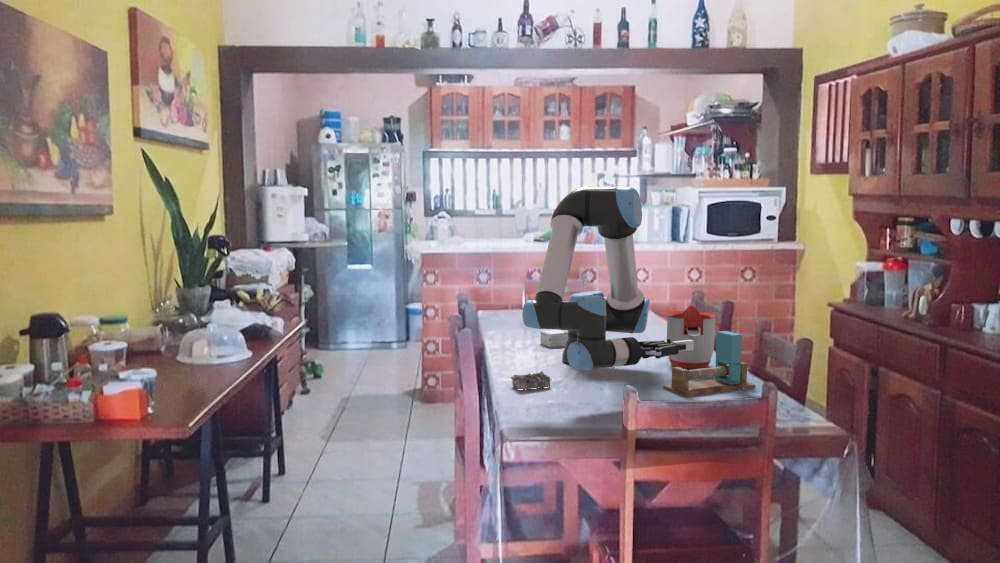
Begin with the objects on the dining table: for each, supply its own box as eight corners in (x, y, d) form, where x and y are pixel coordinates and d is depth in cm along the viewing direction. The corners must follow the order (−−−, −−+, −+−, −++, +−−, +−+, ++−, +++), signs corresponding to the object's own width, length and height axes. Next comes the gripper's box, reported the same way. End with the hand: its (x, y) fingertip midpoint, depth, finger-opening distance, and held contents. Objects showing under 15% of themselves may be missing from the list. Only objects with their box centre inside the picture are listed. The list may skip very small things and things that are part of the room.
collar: (730, 384, 216) (732, 335, 214) (715, 379, 221) (716, 331, 220) (740, 383, 217) (741, 334, 215) (724, 378, 223) (726, 330, 221)
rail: (685, 396, 207) (686, 373, 206) (663, 388, 216) (663, 365, 215) (755, 387, 217) (756, 364, 217) (731, 379, 226) (732, 358, 226)
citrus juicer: (667, 372, 236) (669, 309, 234) (663, 360, 253) (664, 301, 251) (718, 373, 234) (720, 310, 232) (710, 361, 251) (712, 302, 249)
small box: (539, 344, 281) (539, 330, 281) (557, 342, 285) (557, 329, 284) (550, 347, 275) (550, 334, 274) (568, 346, 278) (568, 332, 277)
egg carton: (518, 392, 212) (518, 378, 212) (509, 386, 219) (509, 372, 219) (553, 389, 216) (553, 375, 215) (543, 383, 223) (543, 369, 222)
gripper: (608, 360, 209) (676, 353, 219) (635, 370, 197) (706, 362, 207) (608, 334, 208) (677, 328, 218) (636, 342, 196) (707, 335, 206)
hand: (691, 344), depth 212 cm, fingers closed
